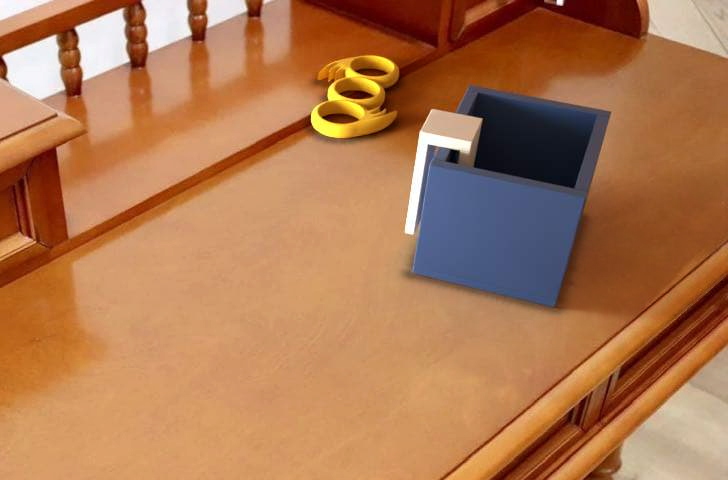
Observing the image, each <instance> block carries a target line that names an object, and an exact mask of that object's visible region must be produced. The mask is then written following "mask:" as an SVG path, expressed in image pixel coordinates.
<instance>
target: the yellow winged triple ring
mask: <svg viewBox="0 0 728 480" xmlns="http://www.w3.org/2000/svg"><path fill="white" fill-rule="evenodd" d="M364 69H365V70H366V69H371V70H372V69H374V70H379V71H382V72H385V73H386V74H383V75H375V76H372V75H364V74H362V73H359V72H356V71H360V70H364ZM399 77H400V69H399V66H398V65H397V64H396V62H394V61H393V60H391V59H390V58H388V57H385V56H380V55H374V54H365V55H364V54H363V55H358V56H352V57H351V56H350V57H346V58H342V59H337V60H335V61H333V62H330V63H329V64H326V65H325V66H324V67H323V68H322V69H321V70H320V71H319V72H318V74H317V80H318V81H321V80H324V79H327V78H328V79H327V83H330V81H332V80H333V83H332V84H331V85H330V86H329V87H328V90H327V98H328V100H327V101H324V102H321V103H320V104H318V105H316V106H315V107H314V108H313V110H312V111H311V116H310V121H311V125H312V127H313V128H314V130H316V131H317V132H318V133H320V134H321V135H323V136H327V137H330V138H335V139H349V138H354V137H359V136H366V135H370V134H374V133H377V132H380V131H382V130H384V129H386V128H387V127H388V126H390V125H391V124H392V123H394V121H395V119H396V118H397V116H398V110H393V111H390V112H388V113H387V108H386V107H385V108H384V109H383V110H382V111H381V106H382V105H383V104H384V102H385V98H386V92H385V89H388V88H390V87H392V86H394V85H395V84H396V83H397V81H398V80H399ZM351 91H359V92H365V93H368V94H370V95H372V97H369V98H362V99H360V98H359V99H356V98H350V97H346V96H343V95H341V94H340V93H344V92H351ZM335 114H339V115H348V116H351V117H353V118H356V119H357V120H356V121H354V122H349V123H335V122H331V121H329V120H326V119H324V118H323V117H325V116H328V115H335Z"/></svg>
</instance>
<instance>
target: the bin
mask: <svg viewBox="0 0 728 480" xmlns="http://www.w3.org/2000/svg"><path fill="white" fill-rule="evenodd" d="M455 113H457V114H462V115H467V116H472V117H477V118H482V119H483V120H482V125H481V129H480V135H479V140H478V145H477V151H476V156H475V161H474V166H473V167H469V166H464V165H459V164H458V160H459V154H460V151H459V150H454V149H449V148H444V147H440V146H437V147H438V148H437V149H436V150H435V154H434V157H433V160H432V161H431V163H430V166H429V172H428V178H427V185H426V191H425V197H424V203H423V209H422V216H421V221H420V223H419V228H418V235H417V241H416V247H415V253H414V260H413V267H412V274H415V275H419V276H422V277H427V278H431V279H434V280H439V281H443V282H448V283H450V284H456V285H460V286H463V287H467V288H472V289H476V290H480V291H485V292H489V293H492V294H496V295H501V296H505V297H509V298H513V299H517V300H522V301H525V302H530V303H533V304H538V305H542V306H546V307H550V308H556V307H557V303H558V300H559V296H560V293H561V290H562V286H563V283H564V279H565V276H566V272H567V269H568V267H569V262H570V259H571V256H572V253H573V252H572V251H573V249H574V245H575V243H576V238H577V235H578V233H579V232H578V231H579V228H580V225H581V221H582V219H583V215H584V211H585V208H586V204H587V200H588V196H589V194H590V189H591V185H592V182H593V179H594V175H595V171H596V168H597V164H598V161H599V158H600V153H601V152H602V151H601V150H602V147H603V144H604V140H605V136H606V133H607V129H608V125H609V122H610V118H611V115H612V111H611V110H605V109H600V108H595V107H590V106H584V105H580V104H574V103H569V102H564V101H563V102H562V101H559V100H553V99H547V98H542V97H536V96H530V95H526V94H520V93H514V92H510V91H506V90H505V91H504V90H499V89H493V88H488V87H483V86H478V85H473V84H469V85H468V87H467V89H466V91H465V93H464V95H463V97H462V99H461V102H460V103H459V106H458V107H457V110H456V111H455Z"/></svg>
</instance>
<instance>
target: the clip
mask: <svg viewBox="0 0 728 480" xmlns="http://www.w3.org/2000/svg"><path fill="white" fill-rule="evenodd" d="M482 120H483V119H482V118H477V117H472V116H467V115H462V114H457V113H456V112H451V111H446V110H440V109H435V108H432V109H431V110H430V112H429V114H428V116H427V117H426V120H425V122H424V123H423V125H422V127H421V129H420V131H419V136H418V143H417V149H416V155H415V163H414V170H413V175H412V182H411V188H410V189H411V190H410V196H409V203H408V209H407V217H406V221H405V222H406V223H405V229H404V234H407V235H408V234H409V235H410V236H414V235H415V234H416V231H417V229H418V227H419V226H420V222H421V216H422V209H423V203H424V197H425V191H426V185H427V178H428V172H429V166H430V163H431V161H432V160H433V157H434V155H435V153H436V148H437V147H439V146H440V147H444V148H449V149H454V150H459V151H460V154H459V160H458V164H459V165H464V166H469V167H473V166H474V161H475V156H476V151H477V145H478V140H479V135H480V129H481V125H482Z"/></svg>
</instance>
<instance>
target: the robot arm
mask: <svg viewBox="0 0 728 480" xmlns="http://www.w3.org/2000/svg"><path fill="white" fill-rule="evenodd" d="M565 1H566V0H544V3H545V4H551V5H556V6H561V7H562V6H564V4H565Z"/></svg>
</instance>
